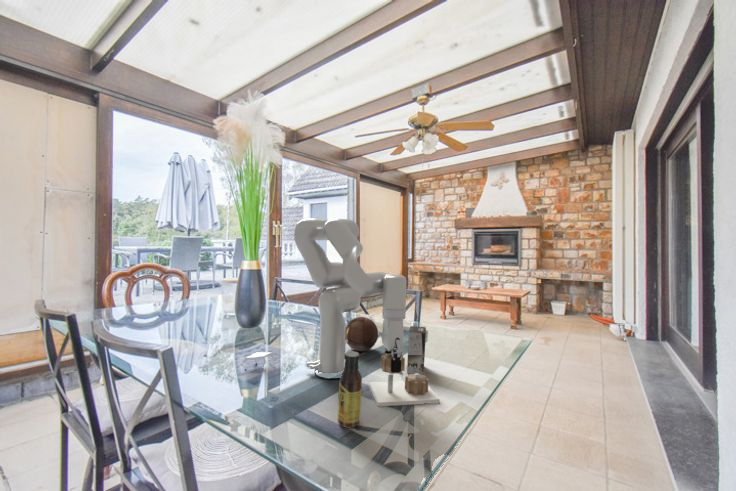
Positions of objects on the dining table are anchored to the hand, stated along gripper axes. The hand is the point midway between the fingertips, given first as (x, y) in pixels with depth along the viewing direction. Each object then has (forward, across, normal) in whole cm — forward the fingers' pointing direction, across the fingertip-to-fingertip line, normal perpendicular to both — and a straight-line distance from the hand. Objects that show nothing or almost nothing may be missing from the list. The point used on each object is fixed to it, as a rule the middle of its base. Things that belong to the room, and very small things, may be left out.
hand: (392, 366), depth 112 cm
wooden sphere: (+9, -43, -3) cm, 44 cm away
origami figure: (+9, -28, -46) cm, 54 cm away
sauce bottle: (+10, +14, -16) cm, 23 cm away
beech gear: (+1, 0, 0) cm, 1 cm away
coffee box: (+10, -20, +15) cm, 27 cm away
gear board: (+10, -1, +4) cm, 11 cm away
